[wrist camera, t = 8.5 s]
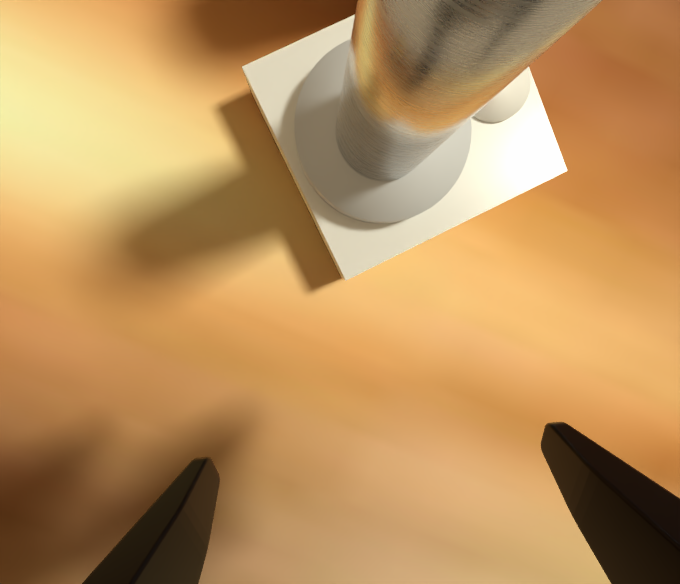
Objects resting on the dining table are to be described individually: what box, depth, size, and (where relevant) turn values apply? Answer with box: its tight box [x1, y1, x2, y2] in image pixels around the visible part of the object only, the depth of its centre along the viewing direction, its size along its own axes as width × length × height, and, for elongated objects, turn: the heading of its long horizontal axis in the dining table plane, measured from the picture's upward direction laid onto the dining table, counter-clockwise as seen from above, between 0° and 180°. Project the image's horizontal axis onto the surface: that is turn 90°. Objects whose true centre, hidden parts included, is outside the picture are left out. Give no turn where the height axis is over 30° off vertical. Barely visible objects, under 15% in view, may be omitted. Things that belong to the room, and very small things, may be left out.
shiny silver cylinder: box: [335, 0, 602, 181], centre depth 10 cm, size 5×5×12 cm
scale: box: [242, 15, 567, 280], centre depth 17 cm, size 14×12×3 cm
